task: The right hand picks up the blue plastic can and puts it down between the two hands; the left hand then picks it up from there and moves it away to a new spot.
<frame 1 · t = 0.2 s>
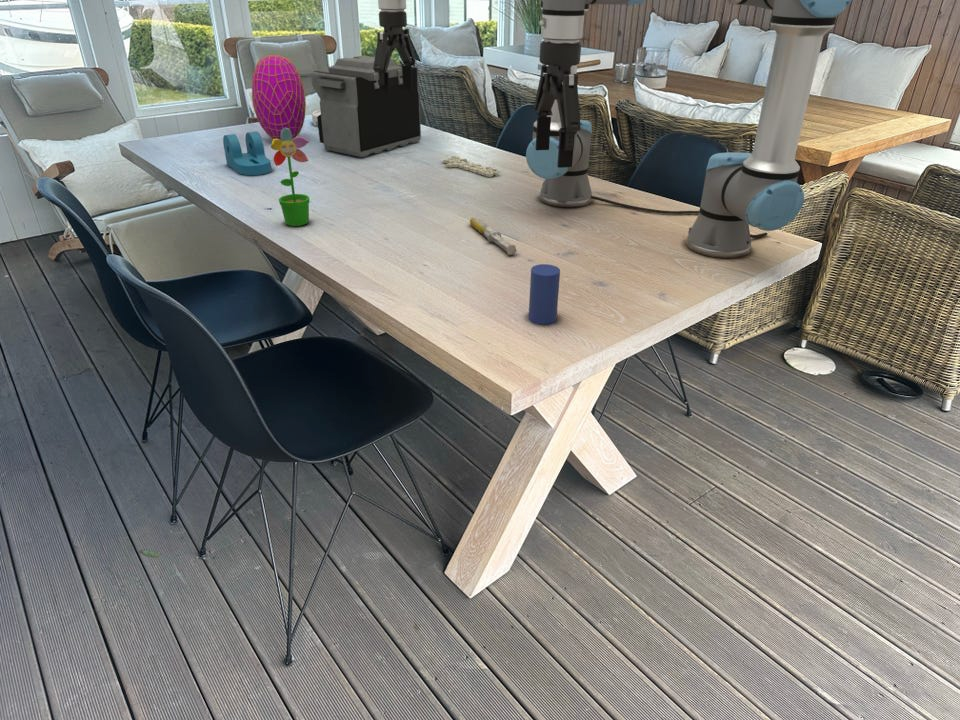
left hand: (396, 93, 197), 28 cm above the table, tool pointing down, fingers open, 13 cm apart
right hand: (552, 158, 136), 28 cm above the table, tool pointing down, fingers open, 13 cm apart
cooler box: (371, 146, 258), on the table
decorative sign: (468, 168, 233), on the table
decorative egg: (284, 140, 265), on the table
syringe: (491, 239, 175), on the table
potted flower: (298, 223, 184), on the table
can: (542, 318, 137), on the table
ashtray: (340, 123, 293), on the table
camera mount: (251, 168, 229), on the table
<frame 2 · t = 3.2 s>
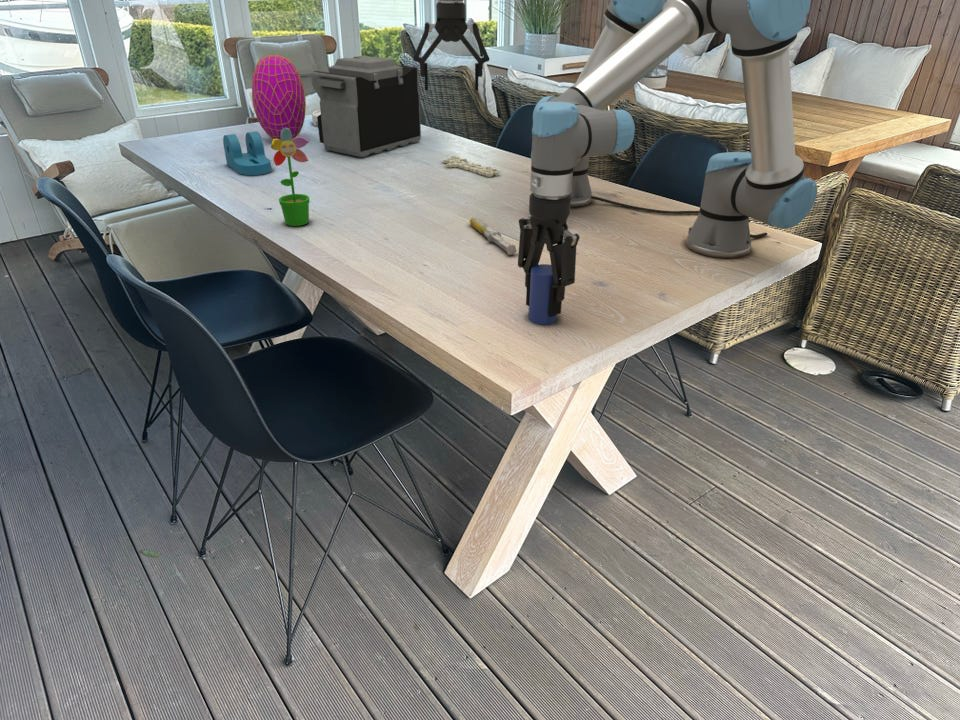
left hand: (451, 89, 187), 31 cm above the table, tool pointing down, fingers open, 13 cm apart
right hand: (543, 308, 136), 2 cm above the table, tool pointing down, fingers closed on can, 6 cm apart
can: (542, 318, 137), on the table, touching right hand
everything else where it was.
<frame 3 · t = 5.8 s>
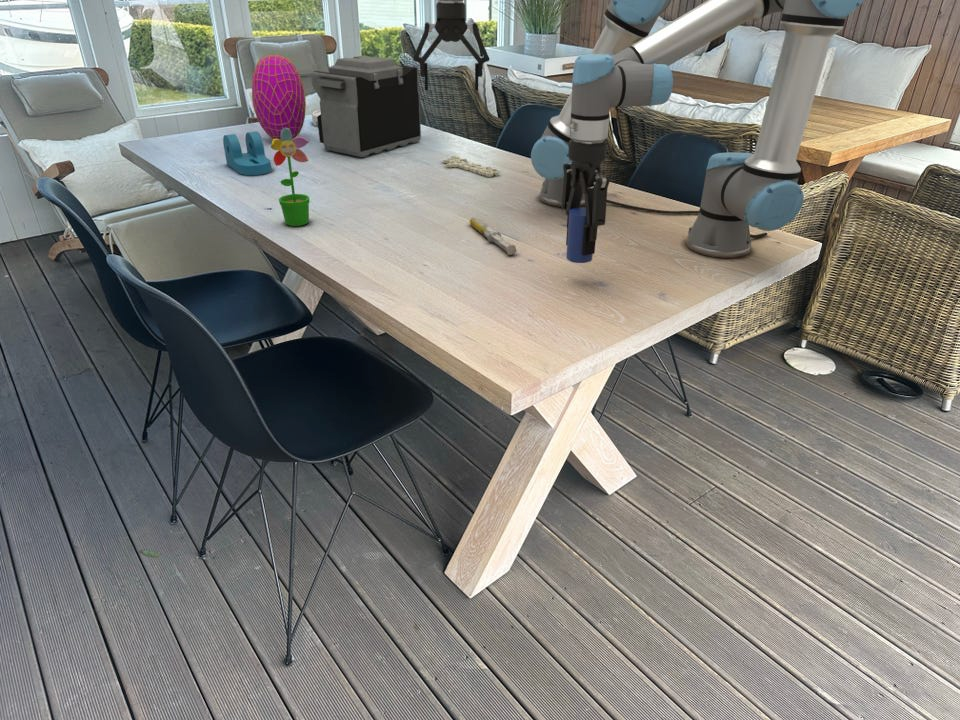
left hand: (451, 89, 187), 31 cm above the table, tool pointing down, fingers open, 13 cm apart
right hand: (580, 248, 148), 8 cm above the table, tool pointing down, fingers closed on can, 6 cm apart
can: (579, 258, 149), point 6 cm above the table, touching right hand
everything else where it was.
when the right hand's fingers open (4 cm above the table, at t = 8.3 s): can drops 2 cm, on the table.
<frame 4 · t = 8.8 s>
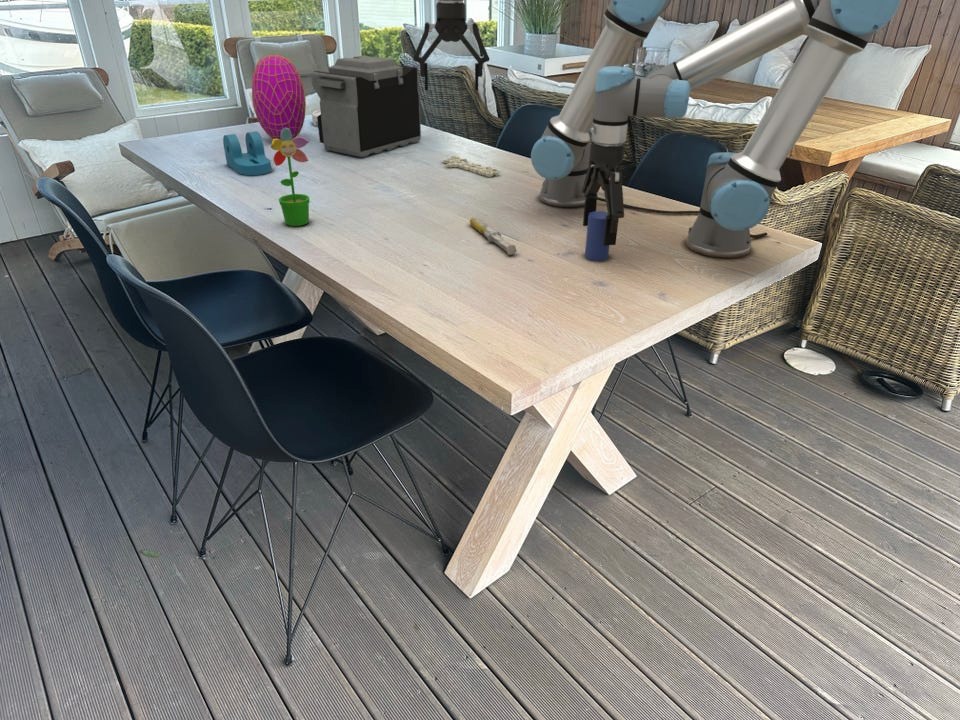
left hand: (451, 89, 187), 31 cm above the table, tool pointing down, fingers open, 13 cm apart
right hand: (598, 234, 162), 6 cm above the table, tool pointing down, fingers open, 13 cm apart
can: (596, 256, 165), on the table
everything else where it was.
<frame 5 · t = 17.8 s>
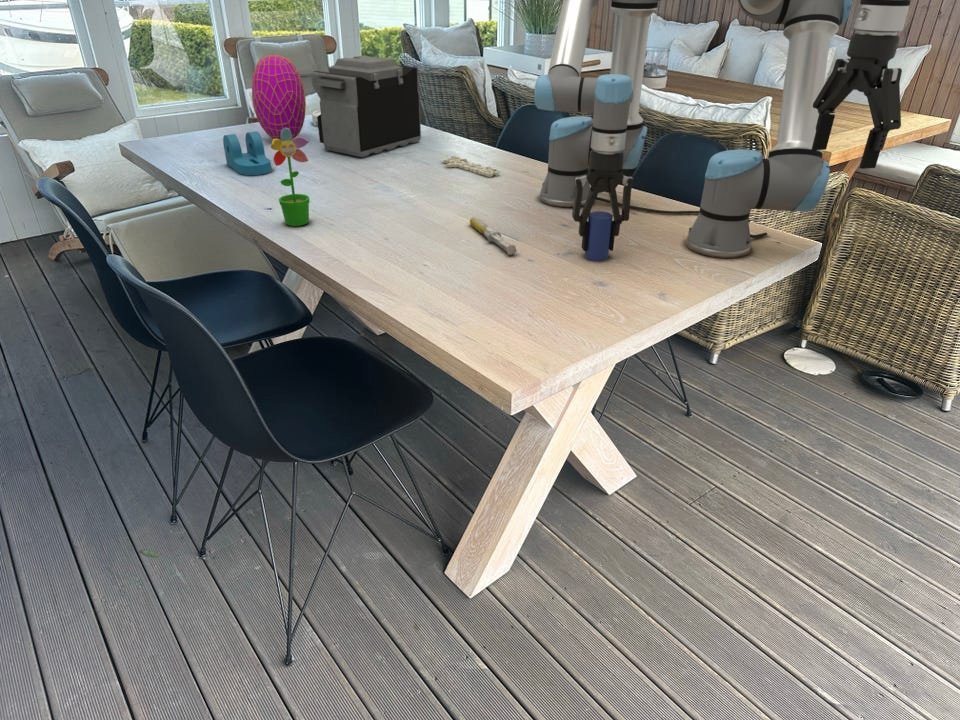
left hand: (597, 248, 164), 2 cm above the table, tool pointing down, fingers closed on can, 6 cm apart
right hand: (841, 158, 128), 30 cm above the table, tool pointing down, fingers open, 13 cm apart
can: (596, 256, 165), on the table, touching left hand
everything else where it was.
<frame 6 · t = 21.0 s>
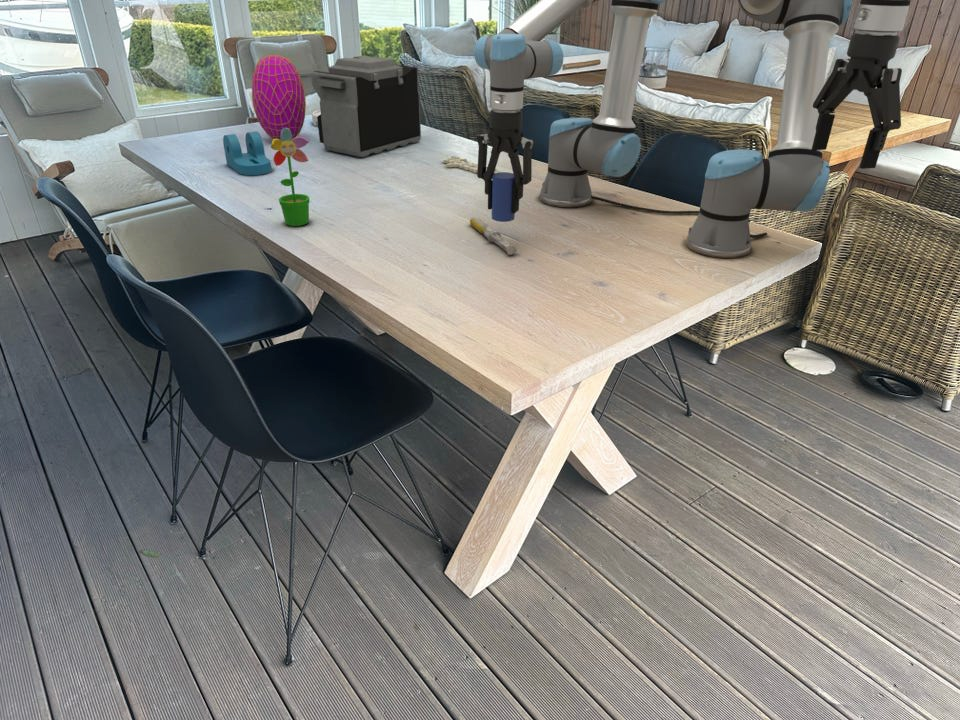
left hand: (503, 209, 167), 9 cm above the table, tool pointing down, fingers closed on can, 6 cm apart
right hand: (841, 158, 128), 30 cm above the table, tool pointing down, fingers open, 13 cm apart
can: (503, 218, 168), point 7 cm above the table, touching left hand
everything else where it was.
when the left hand's fingers open (4 cm above the table, at t = 24.5 s): can drops 2 cm, on the table.
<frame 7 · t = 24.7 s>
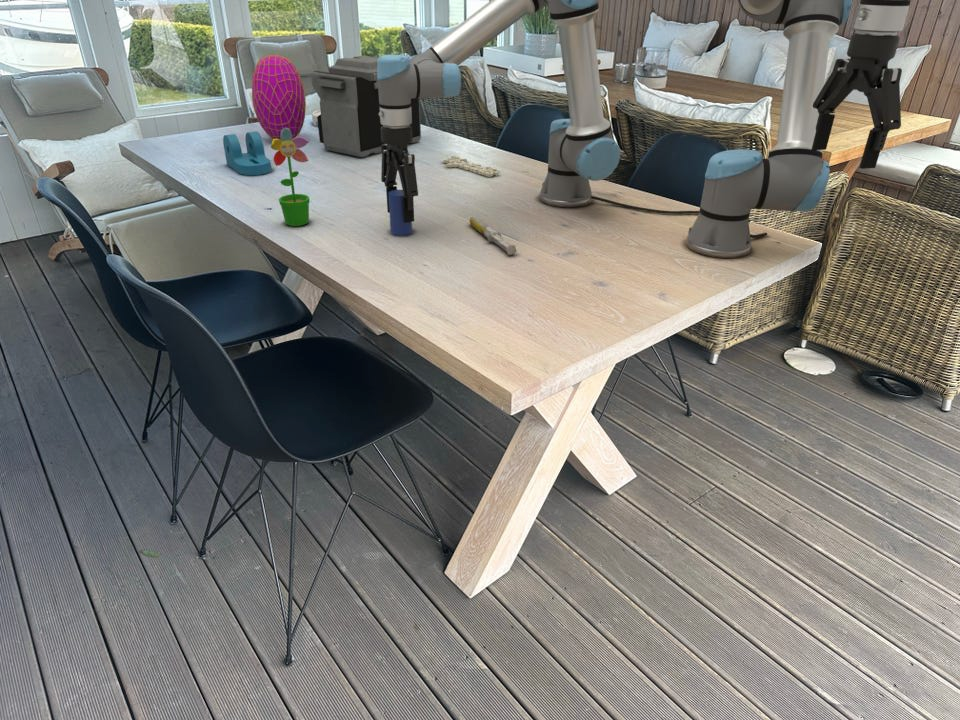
left hand: (400, 216, 176), 4 cm above the table, tool pointing down, fingers open, 8 cm apart
right hand: (841, 158, 128), 30 cm above the table, tool pointing down, fingers open, 13 cm apart
can: (401, 232, 178), on the table
everything else where it was.
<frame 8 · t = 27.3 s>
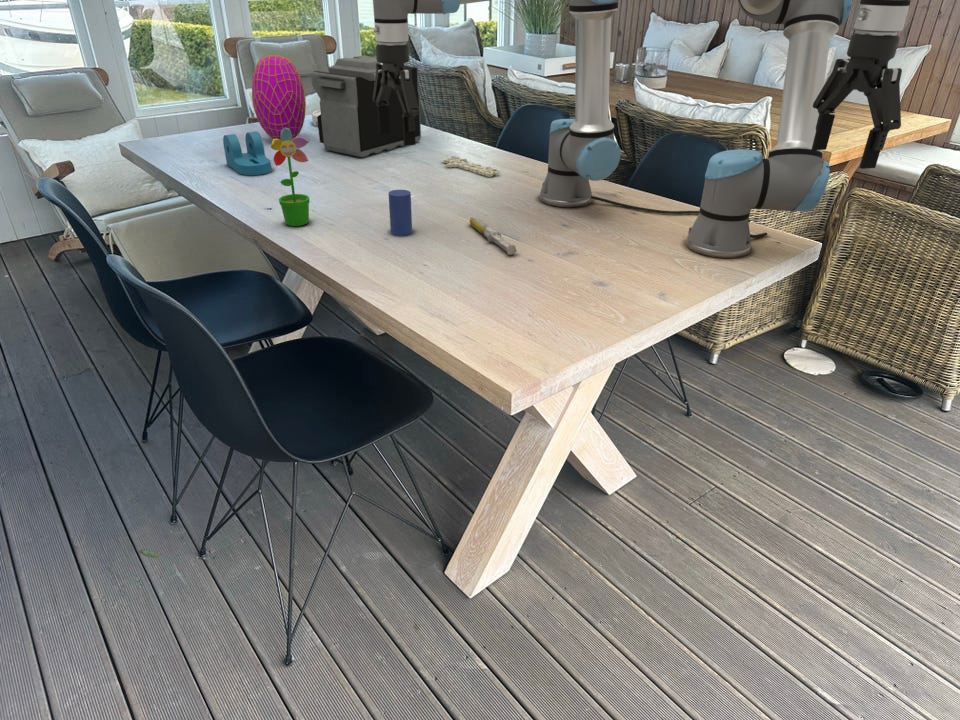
left hand: (396, 139, 166), 24 cm above the table, tool pointing down, fingers open, 13 cm apart
right hand: (841, 158, 128), 30 cm above the table, tool pointing down, fingers open, 13 cm apart
nothing on the table moved.
at the end: can inside the target area (0.0 cm from its centre), on the table; can tilted 0°; the two hands never held the can at the same time; the left hand is holding nothing; the right hand is holding nothing; can at rest at the end (0.0 cm/s) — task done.
